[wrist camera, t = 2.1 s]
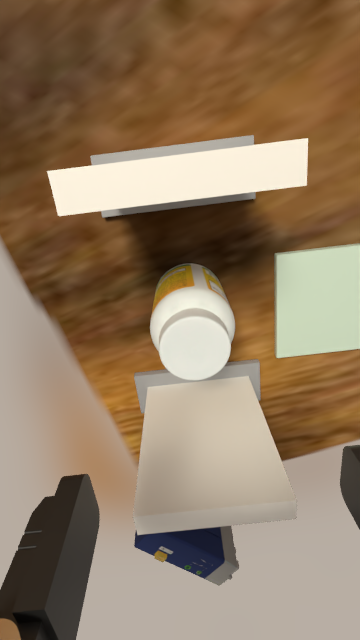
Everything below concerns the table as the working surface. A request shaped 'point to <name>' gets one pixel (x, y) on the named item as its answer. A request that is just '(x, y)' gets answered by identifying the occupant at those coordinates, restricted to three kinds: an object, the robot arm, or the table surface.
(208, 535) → the cassette player
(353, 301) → the pad
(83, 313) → the table surface
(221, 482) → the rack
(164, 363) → the supplement bottle
